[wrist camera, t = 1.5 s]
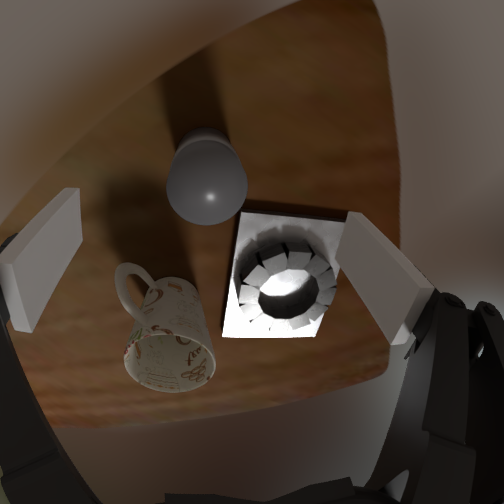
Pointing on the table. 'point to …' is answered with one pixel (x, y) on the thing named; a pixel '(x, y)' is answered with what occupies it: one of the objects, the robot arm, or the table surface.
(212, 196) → the lens
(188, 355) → the mug
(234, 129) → the table surface
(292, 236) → the mount
